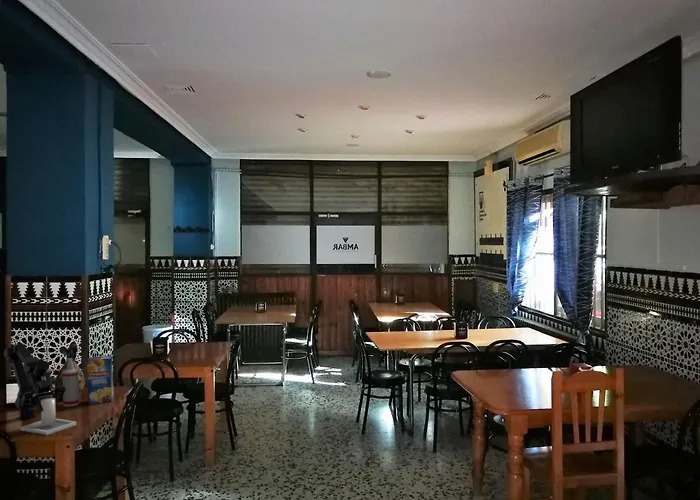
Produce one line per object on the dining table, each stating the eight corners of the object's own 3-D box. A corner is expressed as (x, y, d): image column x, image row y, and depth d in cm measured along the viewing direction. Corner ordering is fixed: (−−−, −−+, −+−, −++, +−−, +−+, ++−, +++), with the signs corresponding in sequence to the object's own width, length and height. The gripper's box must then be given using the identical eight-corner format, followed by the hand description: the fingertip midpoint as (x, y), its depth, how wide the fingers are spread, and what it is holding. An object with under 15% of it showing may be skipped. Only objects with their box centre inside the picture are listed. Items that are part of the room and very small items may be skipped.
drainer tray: (20, 430, 275) (20, 427, 275) (51, 420, 290) (51, 417, 290) (46, 435, 267) (46, 431, 267) (76, 425, 282) (76, 421, 282)
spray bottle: (60, 405, 319) (59, 358, 318) (73, 401, 325) (72, 356, 325) (68, 407, 314) (67, 360, 314) (81, 403, 321) (80, 357, 320)
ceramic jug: (77, 400, 327) (75, 346, 327) (49, 401, 327) (48, 347, 327) (91, 393, 344) (89, 341, 344) (65, 393, 344) (63, 342, 344)
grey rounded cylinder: (41, 422, 280) (40, 399, 279) (55, 420, 283) (54, 397, 282) (41, 425, 274) (41, 402, 274) (56, 423, 278) (55, 400, 277)
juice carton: (88, 403, 320) (86, 359, 320) (90, 400, 327) (89, 357, 327) (111, 401, 323) (110, 358, 323) (113, 398, 330) (112, 355, 330)
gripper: (22, 376, 274) (32, 403, 267) (63, 369, 288) (74, 395, 281) (16, 390, 279) (26, 418, 272) (57, 382, 293) (67, 408, 286)
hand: (49, 409), depth 278 cm, fingers closed on grey rounded cylinder, 6 cm apart
